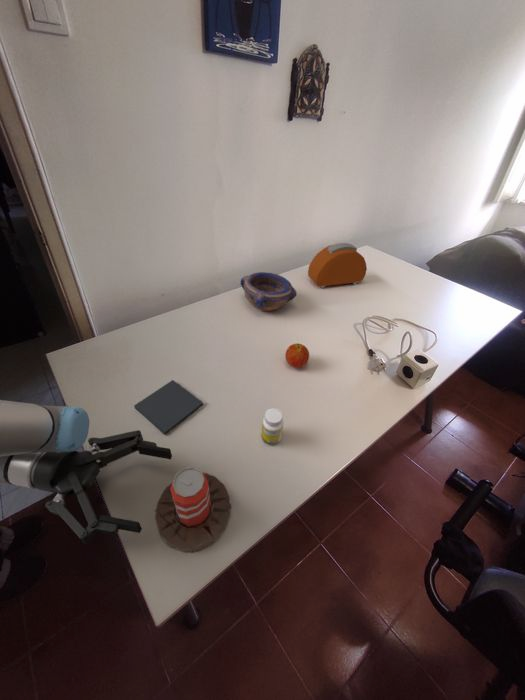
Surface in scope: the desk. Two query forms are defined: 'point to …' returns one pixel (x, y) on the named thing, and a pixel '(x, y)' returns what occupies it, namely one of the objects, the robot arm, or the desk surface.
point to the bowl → (267, 290)
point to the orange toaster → (337, 266)
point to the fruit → (297, 355)
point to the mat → (168, 406)
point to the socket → (194, 536)
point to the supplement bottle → (272, 426)
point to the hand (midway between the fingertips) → (156, 487)
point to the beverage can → (191, 496)
